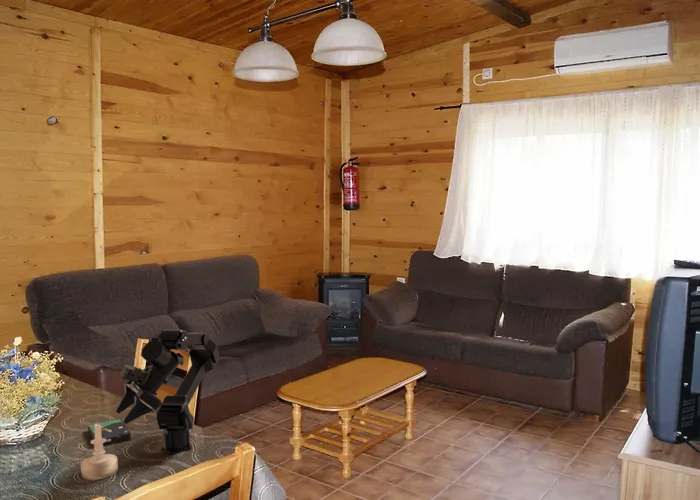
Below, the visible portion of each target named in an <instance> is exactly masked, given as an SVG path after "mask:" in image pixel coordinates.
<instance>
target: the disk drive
mask: <svg viewBox="0 0 700 500" xmlns="http://www.w3.org/2000/svg"><path fill="white" fill-rule="evenodd" d="M123 420H124V419H123V418H121V417H120V418H114V419H109V420H104V421H101V422H95V423H89V424H88V425H87V432H88V434H89V436H90V438H91V441H92V440H94V439H95V424H97V423H98V424H100V425H101V435H102V438H105V439H106V441H105V442H104V443H103V447H104V446H109V445H112V444H113V445H114V444H119V443H121V442H127V441H131V440H132V433H131V431H130V430H129V428H128V426H127V424H125V423H124V422H123Z"/></svg>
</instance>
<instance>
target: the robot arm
mask: <svg viewBox="0 0 700 500" xmlns="http://www.w3.org/2000/svg"><path fill="white" fill-rule="evenodd" d="M188 346H190V348H189V351H188V355H189V357H190V363H191V365H190V368H189V369H188V371H187V373H186V374H185V376H184V378H183V380H182V382H181V383H180V385H179V387H178V388H177V390H176V391H175V394H174V395H165V397H164V399H163V401H161V399H160V398H159V397H158V396H157V395H158V392H157V391H159V390H160V388H161V386H162V385H166V384H167V383H168V378H170V376H171V375H172V374H173V373H174V372H175V370H176V369H177V368H178V367H179V365H180V366H184V364H185V363H184V356H183V354H181V353H180V352H177V353H176V352H175V351H182V350H183V351H184V350H185V349H187V348H188ZM195 346H203V347H195ZM141 357H142V358H143V360H145V361H146V362H147V363H148V364H150V366H145V367H144V368H143V369H142V368H141V367H136V366H131V365H128V364H124V365H123V367H122V370H121V372H120V374H119V376H120V377H121V378H122V379H123V381H124V382H125V383H123V387H124V394H123V395H122V398H121V400H120V401H119V404H118V406H117V408H116V410H115V412H116V413H117V414H120V413H123V411H124V412H125V410H127V409H128V408H129V407H130V409H129V411H128V413H127V414H126V415H125V417H124V419H122V420H123V422H124V423H125V425H127V424H128V423H130V422H131V423H132V422H133V421H134V420H137V419H138V418H141V417H142V416H145V415H147V414H148V413H151V412H152V413H153V412H154V411H157V412H156V420H157V421H156V422H157V424H158V428H159V430H164V433H162V447H163V448H164V449H165V450H166V451H167V453H169V454H170V455H172V454H176V453H179V452H180V453H181V452H185V451H187V450H188V451H189V450H191V449H192V447H193V446H192V445H191V443H190V430H191V429H193V428H194V427H193V426H194V423H195V418H194V416H193V414H192V413H191V412H190V407H189V405H190V402H191V401H192V399H193V397H194V395H195V393H196V392H197V390H198V388H199V386H200V384H201V382H202V380H203V379H204V377H205V375H206V374H207V373H210V372H211V371H213V370H214V369H215V367H216V366H217V364H218V363H219V361H220V352H219V349H218V346H217V344H216V343H214V342H213V340H211V339H210V337H209V334H208V333H206V332H204V331H203V332H201V331H193V332H189V331H187V330H184V329H170V328H169V329H167V328H166V329H165V328H164V329H162V330H160V333H158V335H157V336H156V337H155V336H154V337H151V340H150V341H149V342H147V343H146V344H145V345H144V346H143V347H142V349H141ZM131 406H132V407H131Z"/></svg>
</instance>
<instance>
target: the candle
mask: <svg viewBox="0 0 700 500" xmlns="http://www.w3.org/2000/svg"><path fill="white" fill-rule="evenodd" d="M96 423H97V424H96ZM96 423H94V424H95V439H94V440H92V439H91V440H90V444H92V445H93V448H94V450H93V451H92V456H93V457H91V456H90V457H91V458H90V459H89V463H90V464H93V465H98V464H103V463H106V462H107V461H109V459H110V456H109V455H105V454H106V449H104V446H103V443H104V442H105V441H106V439H105V438H102V435H101V425H100V424H98V423H99V422H96Z"/></svg>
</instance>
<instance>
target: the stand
mask: <svg viewBox="0 0 700 500" xmlns="http://www.w3.org/2000/svg"><path fill="white" fill-rule="evenodd" d="M104 454H105V455H109V456H110V459H109V461H107V462H106V463H103V464H98V465H93V464H90V463H89V459H90V458H91V457H93V456H94V455H92V456H89V457H86V458H85V459H84V460H82V461H81V462H80V473H81V474H80V475H81V478H82V479H84V480H88V481H97V480H102V479H106V478H109V477H111V476H113V475H115V474H116V473H117V472H118V471H119V470H118V469H119V467H118V465H119V464H118V457H117V455H115V454H112V453H104Z"/></svg>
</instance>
